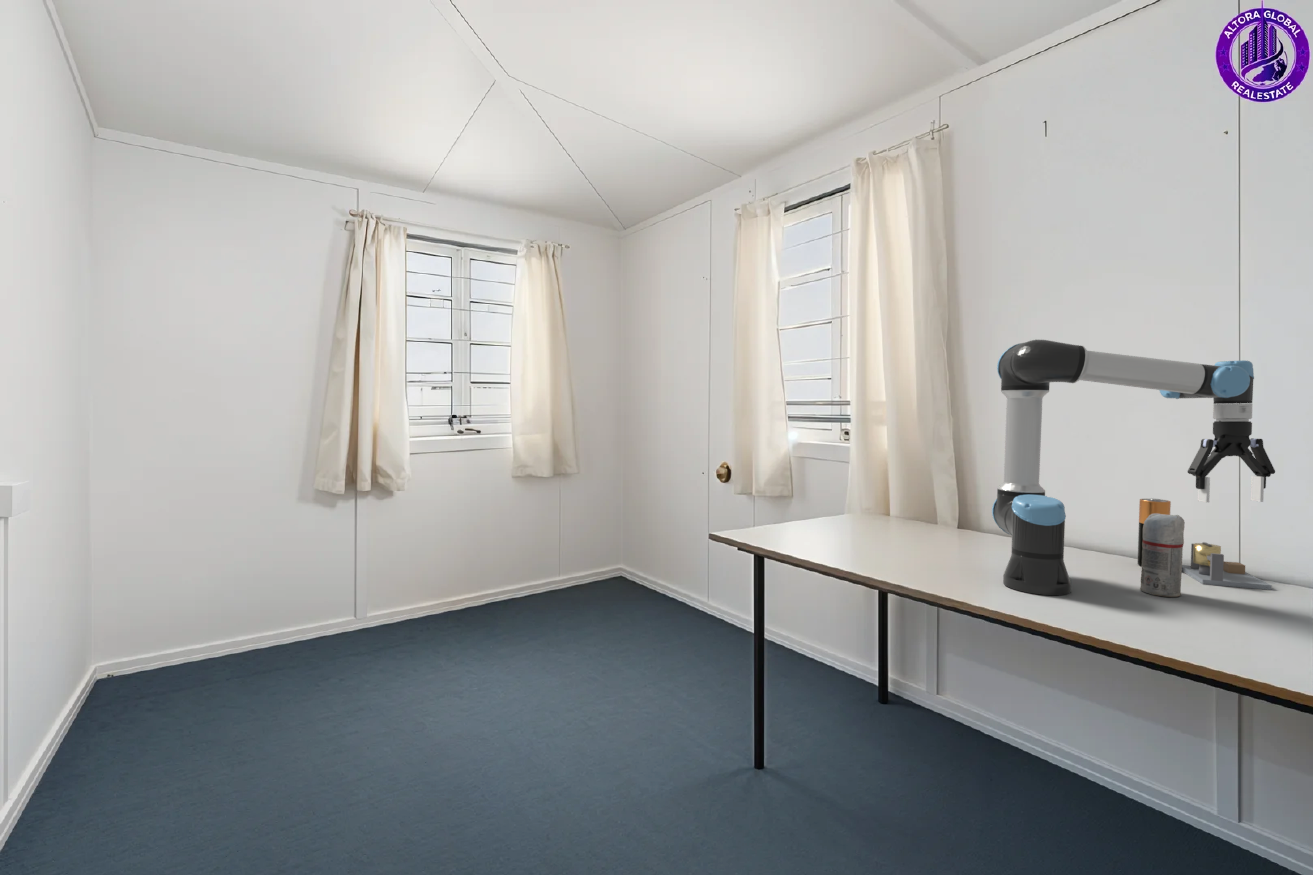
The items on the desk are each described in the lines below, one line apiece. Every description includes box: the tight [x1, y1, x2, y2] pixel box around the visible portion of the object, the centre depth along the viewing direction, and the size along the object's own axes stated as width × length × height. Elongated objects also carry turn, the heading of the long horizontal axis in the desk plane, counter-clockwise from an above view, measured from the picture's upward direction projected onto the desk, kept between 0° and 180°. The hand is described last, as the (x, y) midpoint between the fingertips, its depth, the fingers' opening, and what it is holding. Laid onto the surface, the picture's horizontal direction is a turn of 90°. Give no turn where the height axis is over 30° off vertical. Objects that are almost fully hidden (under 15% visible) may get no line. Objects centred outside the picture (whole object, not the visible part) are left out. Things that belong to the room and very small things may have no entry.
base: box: [1182, 543, 1272, 591], centre depth 171 cm, size 14×17×8 cm
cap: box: [1193, 541, 1222, 566], centre depth 171 cm, size 9×6×5 cm, turn 157°
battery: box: [1137, 498, 1172, 567], centre depth 184 cm, size 7×7×20 cm
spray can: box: [1139, 513, 1185, 598], centre depth 158 cm, size 8×8×20 cm
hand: (1230, 501), depth 164 cm, fingers open, 13 cm apart
